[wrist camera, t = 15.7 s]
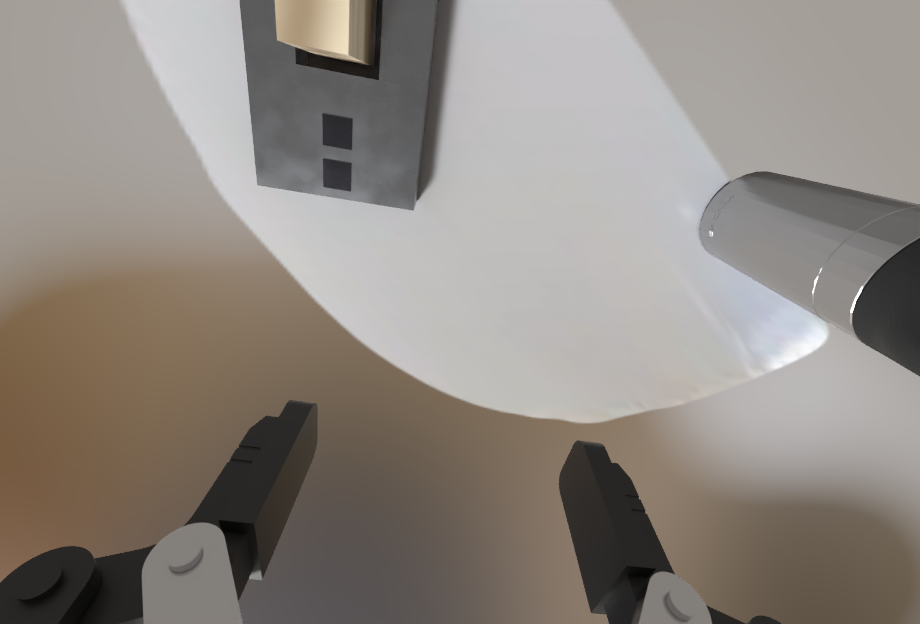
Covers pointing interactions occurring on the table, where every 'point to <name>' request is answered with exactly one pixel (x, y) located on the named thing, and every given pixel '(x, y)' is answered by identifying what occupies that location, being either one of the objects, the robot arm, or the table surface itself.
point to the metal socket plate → (341, 110)
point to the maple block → (329, 28)
